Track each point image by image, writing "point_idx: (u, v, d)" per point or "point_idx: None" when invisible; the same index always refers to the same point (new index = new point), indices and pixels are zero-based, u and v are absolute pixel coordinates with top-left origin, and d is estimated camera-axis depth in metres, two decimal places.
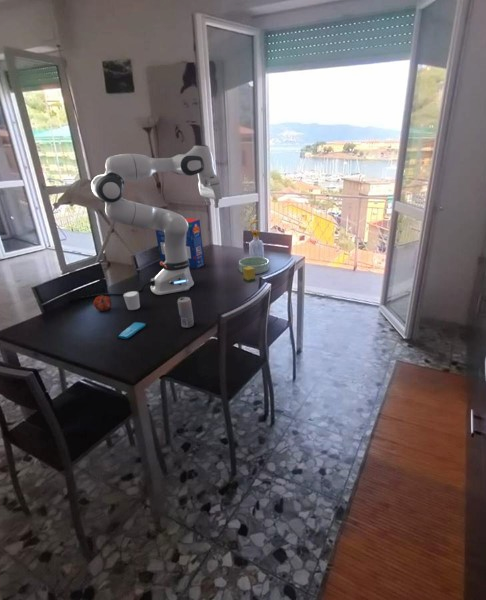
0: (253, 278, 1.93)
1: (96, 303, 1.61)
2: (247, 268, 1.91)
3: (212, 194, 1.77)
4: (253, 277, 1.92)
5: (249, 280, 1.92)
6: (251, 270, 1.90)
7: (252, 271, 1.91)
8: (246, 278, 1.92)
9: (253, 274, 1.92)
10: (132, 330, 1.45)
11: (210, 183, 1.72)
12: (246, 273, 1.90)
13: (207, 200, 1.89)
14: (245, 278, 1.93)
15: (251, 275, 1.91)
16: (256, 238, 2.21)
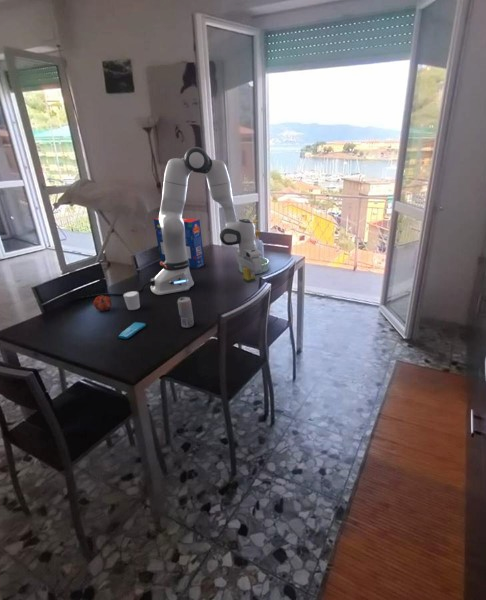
0: (253, 278, 1.93)
1: (96, 303, 1.61)
2: (247, 268, 1.91)
3: (251, 266, 1.84)
4: (253, 277, 1.92)
5: (249, 280, 1.92)
6: None
7: None
8: (246, 278, 1.92)
9: None
10: (132, 330, 1.45)
11: (251, 256, 1.80)
12: (246, 273, 1.90)
13: None
14: (245, 278, 1.93)
15: None
16: (256, 238, 2.21)
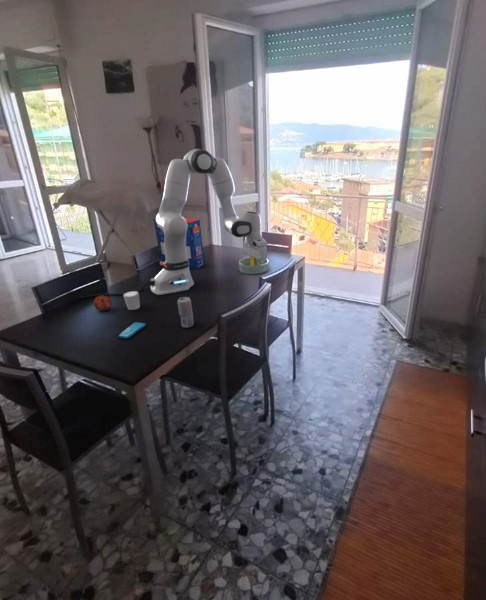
0: None
1: (96, 303, 1.61)
2: (253, 257, 2.04)
3: (258, 254, 1.97)
4: None
5: None
6: None
7: None
8: None
9: None
10: (132, 330, 1.45)
11: (258, 245, 1.93)
12: (253, 261, 2.03)
13: None
14: None
15: None
16: None
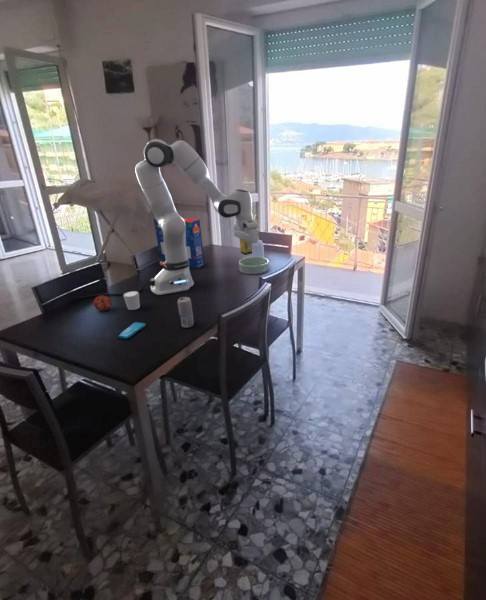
0: (250, 251, 1.89)
1: (96, 303, 1.61)
2: (244, 240, 1.87)
3: (248, 237, 1.80)
4: (250, 250, 1.89)
5: (246, 253, 1.88)
6: None
7: None
8: (243, 251, 1.88)
9: None
10: (132, 330, 1.45)
11: (248, 227, 1.76)
12: (243, 245, 1.87)
13: None
14: (242, 251, 1.89)
15: None
16: None
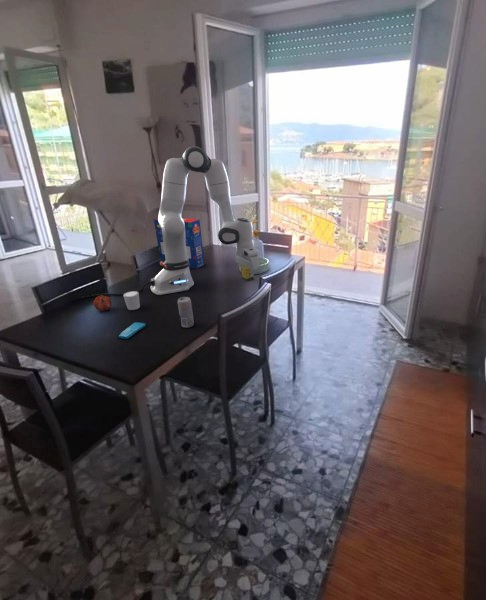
0: (251, 277, 1.94)
1: (96, 303, 1.61)
2: (246, 267, 1.93)
3: (249, 264, 1.85)
4: None
5: (248, 279, 1.93)
6: (249, 269, 1.92)
7: None
8: (245, 277, 1.93)
9: None
10: (132, 330, 1.45)
11: (249, 255, 1.81)
12: (245, 272, 1.92)
13: (242, 266, 1.97)
14: (244, 277, 1.94)
15: None
16: (256, 238, 2.21)
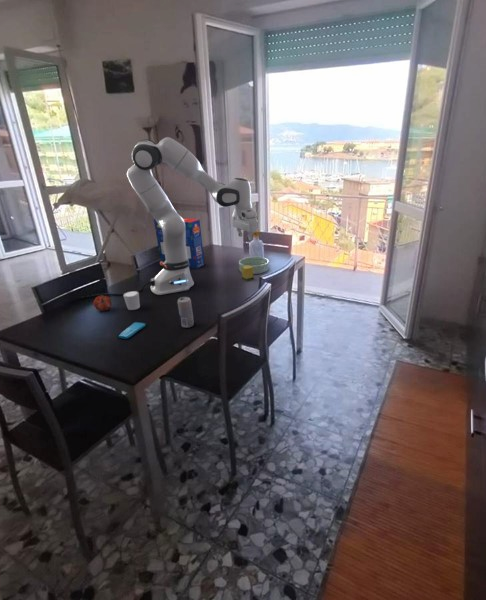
0: (251, 277, 1.94)
1: (96, 303, 1.61)
2: (246, 267, 1.93)
3: (247, 227, 1.77)
4: (251, 276, 1.94)
5: (248, 279, 1.93)
6: (249, 269, 1.92)
7: (250, 270, 1.92)
8: (245, 277, 1.93)
9: (251, 273, 1.94)
10: (132, 330, 1.45)
11: (247, 216, 1.73)
12: (245, 272, 1.92)
13: (239, 231, 1.89)
14: (244, 277, 1.94)
15: (250, 273, 1.93)
16: (256, 238, 2.21)
